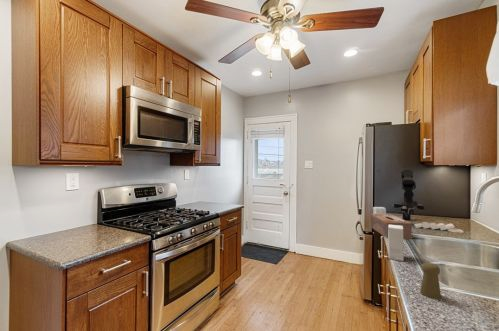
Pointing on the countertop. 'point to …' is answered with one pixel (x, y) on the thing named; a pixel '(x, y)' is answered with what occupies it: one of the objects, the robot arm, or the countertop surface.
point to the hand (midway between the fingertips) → (407, 217)
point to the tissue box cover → (383, 221)
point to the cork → (430, 281)
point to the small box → (379, 210)
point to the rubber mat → (429, 229)
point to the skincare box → (395, 242)
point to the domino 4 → (455, 230)
